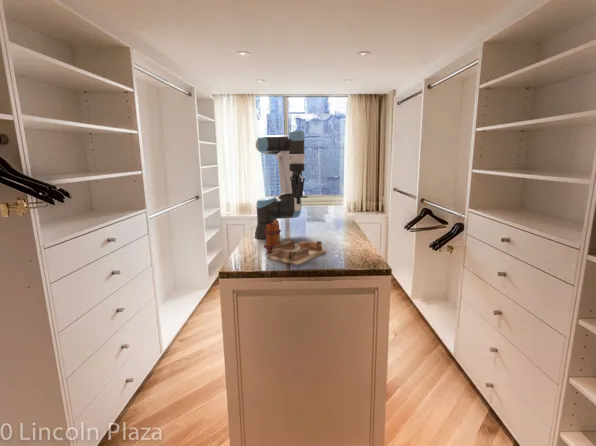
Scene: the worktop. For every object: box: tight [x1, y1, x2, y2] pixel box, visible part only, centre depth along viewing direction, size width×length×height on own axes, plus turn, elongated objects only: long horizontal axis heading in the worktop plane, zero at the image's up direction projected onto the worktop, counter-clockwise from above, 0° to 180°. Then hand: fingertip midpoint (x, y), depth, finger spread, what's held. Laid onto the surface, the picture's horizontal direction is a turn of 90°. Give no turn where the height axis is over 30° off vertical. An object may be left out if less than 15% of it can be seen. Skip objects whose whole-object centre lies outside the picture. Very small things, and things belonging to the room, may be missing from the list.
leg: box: [299, 240, 323, 250], centre depth 161 cm, size 11×3×4 cm, turn 84°
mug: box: [263, 219, 282, 254], centre depth 165 cm, size 15×8×15 cm, turn 168°
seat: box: [266, 239, 327, 266], centre depth 157 cm, size 18×24×5 cm
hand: (297, 210), depth 165 cm, fingers closed
